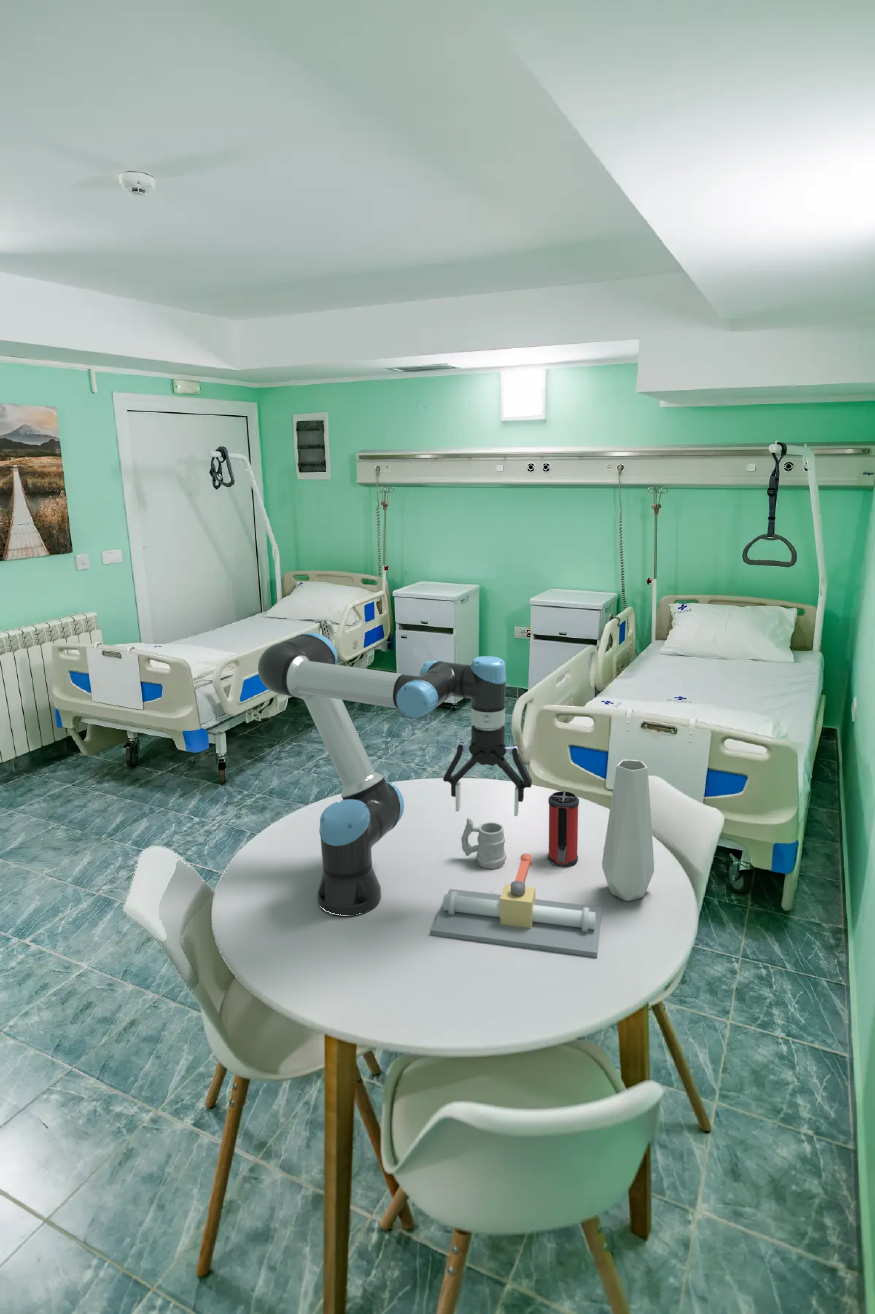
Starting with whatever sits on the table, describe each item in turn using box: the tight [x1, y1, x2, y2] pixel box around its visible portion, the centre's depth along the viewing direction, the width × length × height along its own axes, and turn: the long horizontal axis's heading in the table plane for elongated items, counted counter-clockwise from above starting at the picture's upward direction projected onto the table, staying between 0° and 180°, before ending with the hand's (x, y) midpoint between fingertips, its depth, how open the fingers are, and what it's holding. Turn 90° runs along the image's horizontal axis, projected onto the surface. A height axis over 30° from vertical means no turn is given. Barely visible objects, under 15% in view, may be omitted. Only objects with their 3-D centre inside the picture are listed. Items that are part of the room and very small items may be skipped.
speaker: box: [547, 790, 580, 867], centre depth 194 cm, size 8×8×18 cm
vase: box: [601, 759, 655, 902], centre depth 177 cm, size 12×12×33 cm
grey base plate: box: [430, 884, 603, 958], centre depth 169 cm, size 36×17×8 cm, turn 75°
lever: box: [510, 853, 533, 896], centre depth 174 cm, size 15×3×2 cm, turn 165°
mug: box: [460, 816, 507, 870], centre depth 196 cm, size 8×12×12 cm, turn 75°
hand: (487, 811), depth 175 cm, fingers open, 13 cm apart
